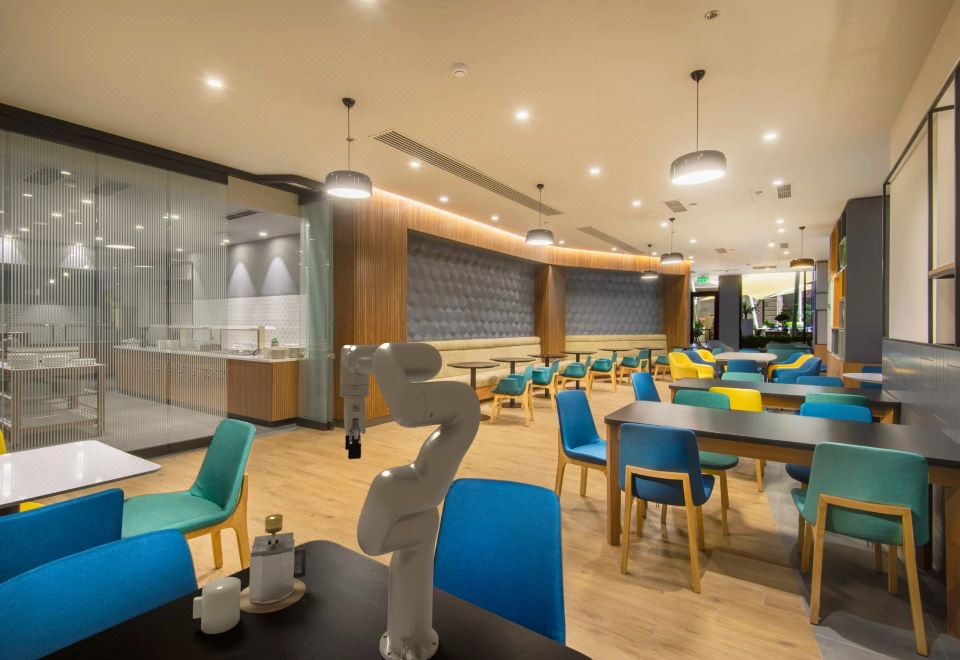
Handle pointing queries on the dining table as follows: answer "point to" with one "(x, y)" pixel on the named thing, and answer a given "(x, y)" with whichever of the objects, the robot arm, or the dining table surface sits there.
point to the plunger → (273, 525)
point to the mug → (218, 605)
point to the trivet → (297, 594)
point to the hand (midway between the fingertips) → (352, 453)
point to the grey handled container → (273, 569)
